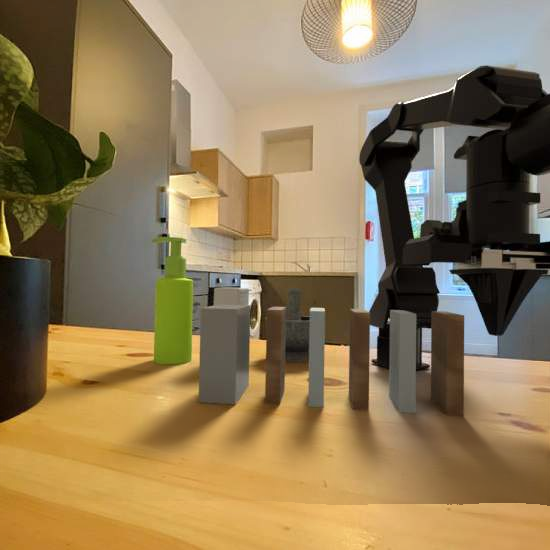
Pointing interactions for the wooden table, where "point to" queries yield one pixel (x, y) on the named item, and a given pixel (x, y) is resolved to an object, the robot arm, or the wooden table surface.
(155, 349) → the soap dispenser
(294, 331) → the mortar and pestle
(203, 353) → the bookend
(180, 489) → the wooden table surface
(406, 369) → the domino
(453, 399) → the domino
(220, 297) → the skincare box
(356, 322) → the domino
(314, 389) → the domino
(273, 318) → the domino
